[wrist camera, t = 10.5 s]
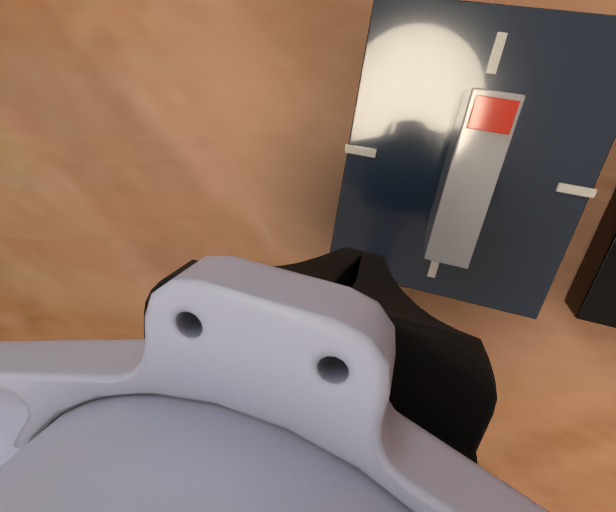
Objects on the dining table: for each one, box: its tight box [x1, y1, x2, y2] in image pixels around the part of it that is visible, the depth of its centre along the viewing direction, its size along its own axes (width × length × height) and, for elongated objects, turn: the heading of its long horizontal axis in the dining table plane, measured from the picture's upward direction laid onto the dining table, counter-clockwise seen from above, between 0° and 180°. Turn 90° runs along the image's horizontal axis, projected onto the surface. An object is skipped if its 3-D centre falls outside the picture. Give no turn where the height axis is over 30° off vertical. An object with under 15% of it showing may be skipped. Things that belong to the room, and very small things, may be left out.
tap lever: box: [424, 88, 525, 269], centre depth 15 cm, size 6×2×4 cm, turn 172°
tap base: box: [330, 0, 616, 319], centre depth 18 cm, size 12×10×3 cm
